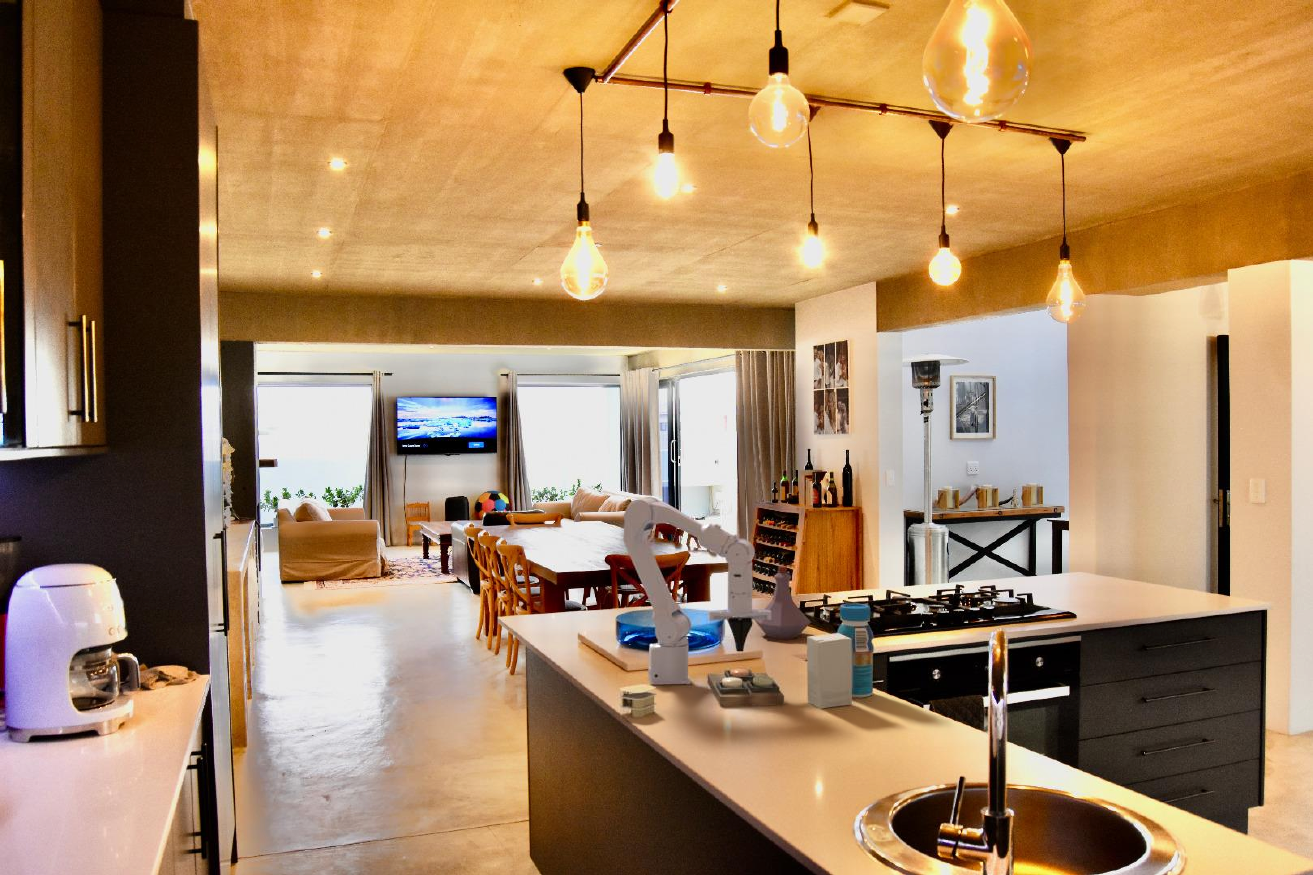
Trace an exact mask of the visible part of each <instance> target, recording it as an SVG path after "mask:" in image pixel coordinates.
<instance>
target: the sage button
mask: <svg viewBox="0 0 1313 875" xmlns="http://www.w3.org/2000/svg"><path fill="white" fill-rule="evenodd" d="M773 680H774V679H773V677H770V676H769V677H764V676H759V677H754V678H753V685H755V686H759V687H769V686H772V685H773Z"/></svg>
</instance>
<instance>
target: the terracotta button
mask: <svg viewBox="0 0 1313 875" xmlns="http://www.w3.org/2000/svg"><path fill="white" fill-rule="evenodd" d="M730 670H731V671H730V676H749V671H748V670H749V669H745V668H735V669H733V668H732V669H730Z"/></svg>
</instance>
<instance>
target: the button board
mask: <svg viewBox="0 0 1313 875" xmlns="http://www.w3.org/2000/svg"><path fill="white" fill-rule="evenodd" d="M731 670H732V669H727V670H726V669H725V670H724V673H707V684H708V686H709V688H710V689H711V691H712V693H713V695H714V697H715V699H716V701H717V703H718V705H719V707H738V706H740V707H741V706H742V707H743V706H747V707H749V706H753V707H754V706H784V705H785V695H784V694H783V693H782V691H781V690H780V686H779V685H778V684H777V683H776V681H775V680H774V679H773V685H772V686H769V687H759V686H755V685H753V678H754V677H759V676H764V677H770V676H769V675H768V674H767V672H753V671H752V670H751V669H747V670H748V671H749V676H730V671H731ZM730 677H732V678H740V679H742V687H739V688H727V687H724V686H722V679H724V678H730Z"/></svg>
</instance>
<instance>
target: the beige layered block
mask: <svg viewBox="0 0 1313 875" xmlns="http://www.w3.org/2000/svg"><path fill="white" fill-rule="evenodd" d="M656 688H657V686H652V685H649V684H644V683H643V684H641V683H640V684H636V685H629V686H624V687H620V688H619V690H620V691H621V692H623V693H620V694H619V697H620V698H621V703H619V707H620V708H621V709H628V710H630V712H631V713H632V717H635V718H642V717H645V715H649V714H652V713H655V706H656V705H657V702H655V696H656V695H657V693H656V692H652V691H651V690H653V689H656Z"/></svg>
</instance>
